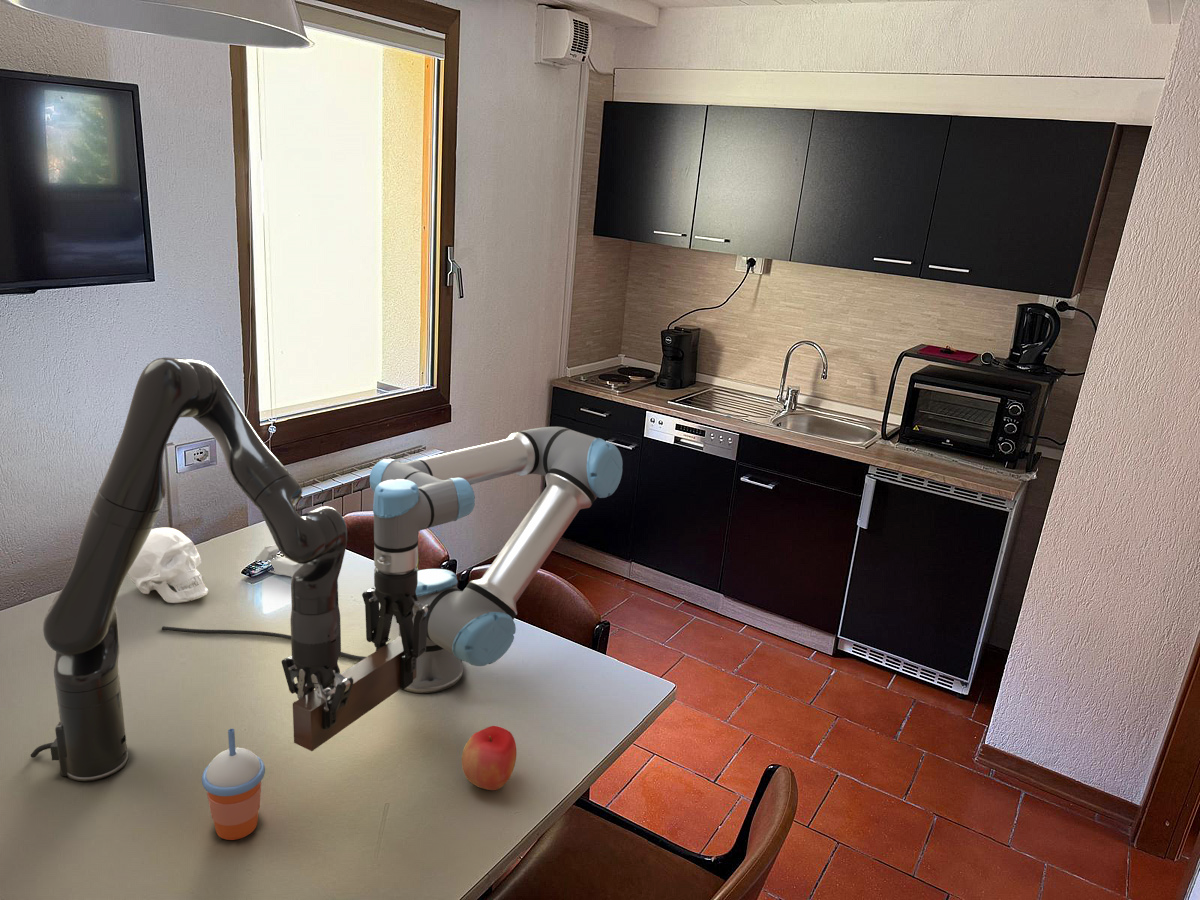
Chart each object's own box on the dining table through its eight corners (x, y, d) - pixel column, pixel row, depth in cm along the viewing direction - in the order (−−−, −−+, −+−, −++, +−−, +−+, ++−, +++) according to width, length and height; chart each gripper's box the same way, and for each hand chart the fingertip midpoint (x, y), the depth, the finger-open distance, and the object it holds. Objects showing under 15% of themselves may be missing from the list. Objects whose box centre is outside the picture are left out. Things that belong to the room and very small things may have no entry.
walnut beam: (311, 751, 138) (310, 711, 136) (293, 742, 140) (292, 703, 137) (416, 677, 160) (416, 642, 158) (399, 670, 162) (400, 635, 160)
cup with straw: (245, 853, 131) (240, 754, 126) (192, 840, 133) (185, 742, 128) (278, 813, 140) (274, 718, 135) (228, 801, 142) (222, 708, 136)
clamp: (253, 565, 223) (254, 542, 221) (265, 560, 226) (266, 537, 224) (309, 593, 215) (310, 569, 213) (320, 588, 218) (321, 564, 216)
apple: (487, 759, 157) (490, 712, 154) (527, 782, 152) (530, 734, 149) (450, 785, 149) (451, 736, 147) (490, 810, 144) (492, 760, 141)
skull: (187, 612, 199) (184, 548, 194) (111, 593, 204) (107, 531, 200) (227, 590, 211) (225, 530, 207) (154, 573, 217) (151, 514, 212)
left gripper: (265, 626, 136) (269, 719, 141) (331, 653, 130) (334, 749, 135) (301, 608, 142) (304, 697, 147) (366, 633, 136) (367, 725, 141)
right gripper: (343, 562, 151) (345, 677, 158) (423, 587, 144) (422, 705, 151) (370, 547, 157) (371, 658, 165) (449, 570, 151) (446, 685, 158)
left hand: (318, 721), depth 141 cm, fingers closed on walnut beam, 4 cm apart
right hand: (395, 681), depth 158 cm, fingers closed on walnut beam, 4 cm apart
